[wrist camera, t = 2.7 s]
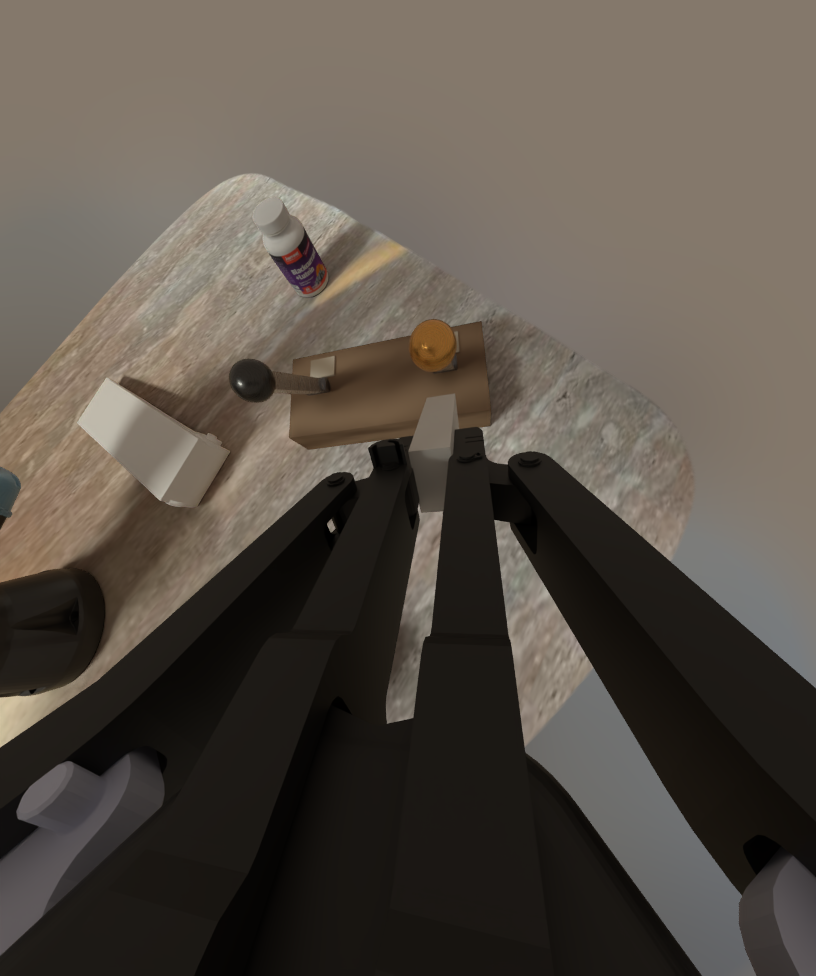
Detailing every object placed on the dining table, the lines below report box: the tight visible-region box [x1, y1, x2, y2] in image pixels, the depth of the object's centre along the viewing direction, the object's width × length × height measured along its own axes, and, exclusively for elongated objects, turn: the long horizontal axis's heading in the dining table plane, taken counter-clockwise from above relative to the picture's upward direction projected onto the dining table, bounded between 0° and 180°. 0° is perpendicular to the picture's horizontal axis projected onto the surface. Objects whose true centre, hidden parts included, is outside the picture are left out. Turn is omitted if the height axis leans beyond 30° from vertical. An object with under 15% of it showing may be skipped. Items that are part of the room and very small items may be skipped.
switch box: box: [289, 321, 491, 450], centre depth 35 cm, size 10×22×4 cm, turn 92°
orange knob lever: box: [409, 319, 458, 374], centre depth 25 cm, size 3×3×13 cm
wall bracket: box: [77, 377, 231, 508], centre depth 44 cm, size 10×7×28 cm
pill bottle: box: [253, 197, 328, 297], centre depth 39 cm, size 5×5×10 cm
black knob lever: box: [229, 359, 331, 403], centre depth 28 cm, size 3×3×13 cm
